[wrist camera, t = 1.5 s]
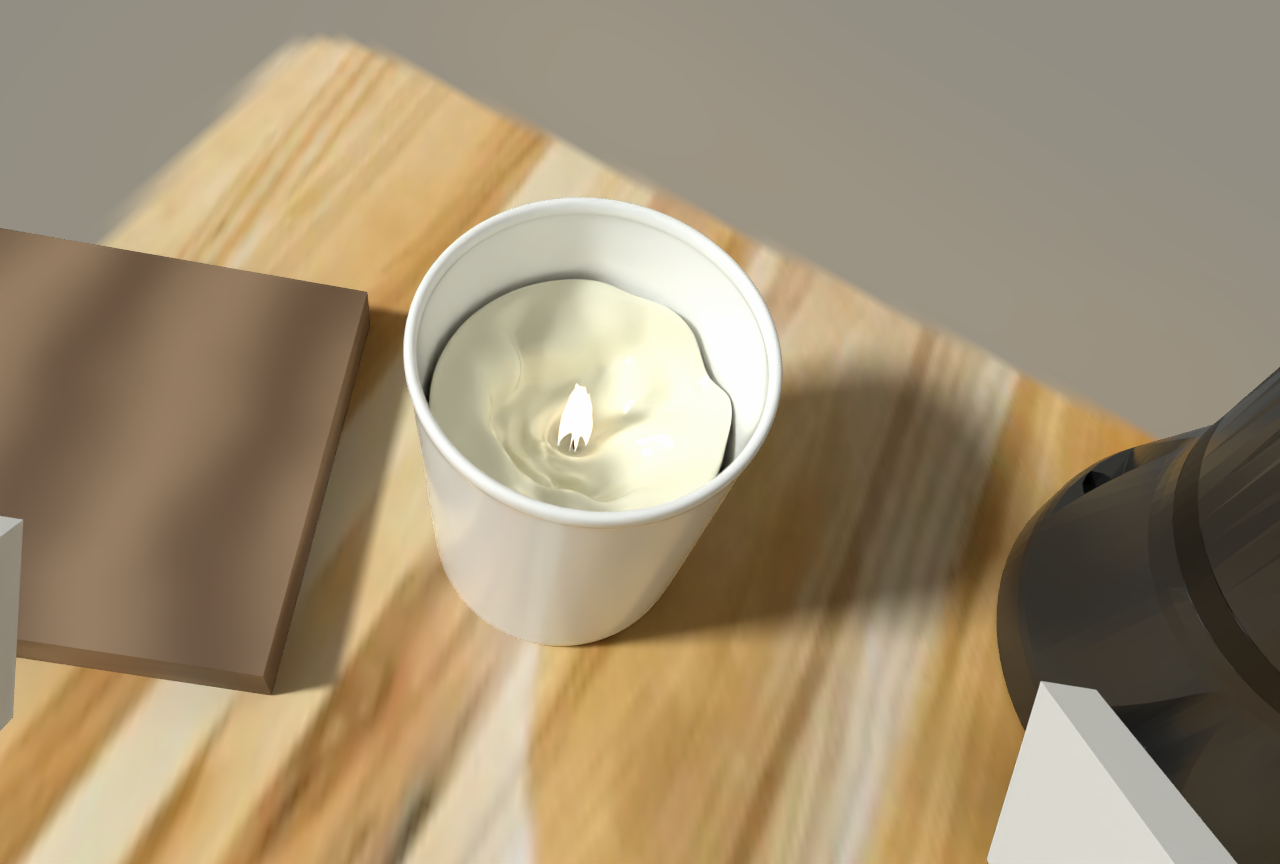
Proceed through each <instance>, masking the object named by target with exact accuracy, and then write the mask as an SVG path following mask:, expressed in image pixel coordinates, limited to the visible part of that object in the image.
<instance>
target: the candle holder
mask: <svg viewBox="0 0 1280 864" xmlns="http://www.w3.org/2000/svg"><path fill="white" fill-rule="evenodd" d="M403 360H404V371H405V377H406V382H407V387H408V391H409V394H410V398H411V401H412V404H413V407H414V414H415V420H416V426H417V432H418V439H419V445H420V451H421V457H422V464H423V470H424V476H425V482H426V489H427V495H428V501H429V507H430V513H431V519H432V525H433V530H434V536H435V541H436V545H437V550H438V553H439V557H440V560H441V563H442V566H443V568H444V571H445V573H446V575H447V577H448V579H449V581H450V583H451V585H452V586H453V588H454V590H455V591H456V593H457V594H458V595H459V597H460V598H461V599H462V600H463V602H464V603H465V604H466V605H467V606H468V607H469V608H470V609H471V610H472V611H473V612H474V613H475V614H476V615H477V616H479V617H480V618H481V619H482V620H484V621H485V622H486V623H488V624H489V625H491V626H492V627H494V628H496V629H498V630H499V631H501V632H503V633H505V634H508V635H510V636H512V637H515V638H518V639H520V640H524V641H527V642H531V643H536V644H542V645H550V646H572V645H581V644H586V643H591V642H595V641H598V640H601V639H604V638H607V637H610V636H612V635H614V634H616V633H618V632H620V631H622V630H624V629H625V628H627V627H629V626H630V625H632V624H633V623H635V622H636V621H637V620H639V619H640V618H641V617H642V616H643V615H644V614H646V613H647V612H648V611H649V610H650V609H651V608H652V607H653V606H654V604H655V603H656V602H657V601H658V600H659V598H660V597H661V596H662V595H663V593H664V592H665V591H666V589H667V588H668V586H669V585H670V583H671V582H672V580H673V579H674V577H675V576H676V574H677V573H678V571H679V570H680V568H681V567H682V565H683V564H684V562H685V560H686V559H687V557H688V556H689V554H690V553H691V551H692V550H693V548H694V546H695V545H696V543H697V542H698V540H699V539H700V537H701V535H702V534H703V532H704V531H705V529H706V527H707V526H708V524H709V523H710V521H711V520H712V518H713V516H714V515H715V513H716V512H717V510H718V509H719V507H720V505H721V504H722V502H723V501H724V499H725V498H726V496H727V494H728V493H729V491H730V490H731V488H732V487H733V485H734V483H735V482H736V480H737V479H738V477H739V475H740V474H741V473H742V472H743V471H744V469H745V468H746V467H747V466H748V465H749V464H750V462H751V461H752V460H753V458H754V457H755V456H756V454H757V453H758V451H759V450H760V448H761V446H762V445H763V443H764V441H765V439H766V437H767V436H768V433H769V431H770V429H771V427H772V424H773V422H774V419H775V416H776V413H777V409H778V405H779V401H780V396H781V389H782V355H781V348H780V343H779V338H778V334H777V331H776V328H775V325H774V322H773V319H772V317H771V314H770V312H769V310H768V307H767V305H766V303H765V301H764V300H763V298H762V296H761V294H760V293H759V291H758V289H757V288H756V286H755V285H754V283H753V282H752V281H751V279H750V278H749V277H748V275H747V274H746V273H745V272H744V270H743V269H742V268H741V267H740V266H739V265H738V264H737V263H736V262H735V261H734V259H733V258H731V257H730V256H729V255H728V254H727V253H726V252H725V251H724V250H723V249H722V248H720V247H719V246H718V245H717V244H716V243H714V242H713V241H712V240H710V239H709V238H708V237H706V236H705V235H703V234H702V233H700V232H699V231H697V230H695V229H694V228H692V227H690V226H689V225H687V224H685V223H683V222H681V221H679V220H677V219H675V218H673V217H671V216H668V215H666V214H663V213H661V212H658V211H656V210H653V209H650V208H647V207H643V206H640V205H636V204H632V203H628V202H623V201H618V200H611V199H603V198H589V197H572V198H558V199H550V200H543V201H538V202H533V203H529V204H525V205H522V206H518V207H515V208H512V209H510V210H507V211H504V212H502V213H499V214H497V215H495V216H493V217H491V218H489V219H487V220H485V221H483V222H481V223H480V224H478V225H476V226H475V227H473V228H472V229H470V230H469V231H467V232H466V233H464V234H463V235H462V236H461V237H459V238H458V239H457V240H456V241H455V242H453V243H452V244H451V245H450V246H449V247H448V248H447V249H446V250H445V251H444V252H443V253H442V254H441V255H440V256H439V257H438V259H437V260H436V261H435V262H434V264H433V265H432V266H431V268H430V269H429V270H428V272H427V273H426V275H425V277H424V278H423V280H422V282H421V283H420V285H419V287H418V289H417V291H416V294H415V296H414V298H413V301H412V304H411V306H410V310H409V313H408V317H407V321H406V326H405V333H404V343H403Z"/></svg>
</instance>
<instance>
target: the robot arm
mask: <svg viewBox="0 0 1280 864" xmlns="http://www.w3.org/2000/svg"><path fill="white" fill-rule="evenodd" d="M22 533H23V520H22V519H16V518H10V517H4V516H0V731H1V729H2V728H3V727H4V726H5V725H6V724H7V723H8V722H9V721H10V720H11V719H12V718H13V705H14V686H15V667H16V648H17V629H18V610H19V590H20V571H21V552H22ZM997 639H998V648H999V655H1000V661H1001V665H1002V670H1003V675H1004V678H1005V682H1006V685H1007V688H1008V692H1009V694H1010V697H1011V700H1012V703H1013V705H1014V708H1015V710H1016V713H1017V715H1018V717H1019V719H1020V722H1021V724H1022V726H1023V728H1024V730H1025V735H1024V738H1023V741H1022V745H1021V748H1020V751H1019V755H1018V758H1017V761H1016V764H1015V768H1014V771H1013V774H1012V778H1011V781H1010V784H1009V788H1008V791H1007V794H1006V797H1005V801H1004V804H1003V807H1002V811H1001V814H1000V817H999V821H998V824H997V827H996V830H995V834H994V837H993V840H992V844H991V847H990V850H989V854H988V857H987V861H988V863H989V864H1280V367H1279V368H1278V369H1277V370H1276V371H1275V372H1274V373H1272V374H1271V375H1270V376H1269V377H1268V378H1267V379H1266V380H1264V381H1263V382H1262V383H1261V384H1260V385H1259V386H1258V387H1256V388H1255V389H1254V390H1253V391H1252V392H1251V393H1250V394H1249V395H1248V396H1246V397H1245V398H1244V399H1242V400H1241V401H1240V402H1239V403H1238V404H1237V405H1236V406H1235V407H1233V408H1232V409H1231V410H1230V411H1229V412H1228V413H1227V414H1226V415H1225V416H1223V417H1222V418H1221V419H1220V420H1218V421H1217V422H1216V423H1215V424H1213V425H1211V426H1207V427H1203V428H1200V429H1196V430H1193V431H1190V432H1186V433H1182V434H1179V435H1175V436H1172V437H1168V438H1165V439H1161V440H1158V441H1154V442H1151V443H1147V444H1144V445H1140V446H1137V447H1134V448H1130V449H1127V450H1124V451H1121V452H1118V453H1116V454H1113V455H1111V456H1109V457H1106V458H1104V459H1102V460H1100V461H1099V462H1097V463H1095V464H1093V465H1091V466H1090V467H1088V468H1086V469H1085V470H1083V471H1082V472H1080V473H1079V474H1077V475H1076V476H1075V477H1074V478H1072V479H1071V480H1070V481H1069V482H1067V483H1066V484H1065V485H1064V486H1063V487H1062V488H1061V489H1060V490H1059V491H1058V492H1057V493H1056V494H1055V495H1054V496H1053V497H1052V498H1051V499H1050V500H1049V501H1048V502H1047V503H1046V504H1044V505H1043V506H1042V507H1041V508H1040V509H1039V510H1038V511H1037V512H1036V513H1035V515H1034V516H1033V517H1032V518H1031V519H1030V520H1029V522H1028V523H1027V524H1026V526H1025V527H1024V529H1023V530H1022V531H1021V533H1020V535H1019V536H1018V538H1017V540H1016V542H1015V543H1014V545H1013V548H1012V550H1011V552H1010V554H1009V556H1008V559H1007V562H1006V565H1005V568H1004V571H1003V575H1002V579H1001V583H1000V589H999V595H998V604H997Z"/></svg>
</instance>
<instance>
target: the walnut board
mask: <svg viewBox="0 0 1280 864" xmlns="http://www.w3.org/2000/svg"><path fill="white" fill-rule="evenodd" d="M369 325H370V317H369V306H368V295H367V292H364V291H359V290H353V289H347V288H341V287H336V286H330V285H324V284H318V283H313V282H307V281H301V280H295V279H290V278H284V277H278V276H272V275H267V274H261V273H255V272H249V271H244V270H238V269H232V268H227V267H221V266H215V265H209V264H204V263H198V262H192V261H186V260H181V259H175V258H169V257H163V256H158V255H152V254H146V253H140V252H135V251H129V250H123V249H117V248H112V247H106V246H100V245H94V244H89V243H83V242H77V241H71V240H66V239H60V238H54V237H48V236H43V235H37V234H31V233H25V232H19V231H14V230H8V229H3V228H0V516H4V517H10V518H16V519H22V520H23V533H22V552H21V571H20V590H19V610H18V629H17V648H16V657H19V658H26V659H33V660H39V661H46V662H53V663H59V664H66V665H73V666H79V667H86V668H93V669H99V670H106V671H113V672H119V673H126V674H133V675H139V676H146V677H153V678H159V679H166V680H173V681H179V682H186V683H193V684H199V685H206V686H213V687H219V688H226V689H232V690H239V691H246V692H252V693H259V694H266V695H271V694H272V690H273V686H274V683H275V679H276V675H277V671H278V668H279V664H280V660H281V656H282V653H283V649H284V645H285V641H286V638H287V634H288V630H289V626H290V623H291V619H292V615H293V611H294V607H295V604H296V600H297V596H298V592H299V589H300V585H301V581H302V577H303V574H304V570H305V566H306V562H307V559H308V555H309V551H310V547H311V544H312V540H313V536H314V532H315V529H316V525H317V521H318V517H319V513H320V510H321V506H322V502H323V498H324V495H325V491H326V487H327V483H328V480H329V476H330V472H331V468H332V465H333V461H334V457H335V453H336V450H337V446H338V442H339V438H340V434H341V431H342V427H343V423H344V419H345V416H346V412H347V408H348V404H349V401H350V397H351V393H352V389H353V386H354V382H355V378H356V374H357V371H358V367H359V363H360V359H361V356H362V352H363V348H364V344H365V340H366V337H367V333H368V329H369Z"/></svg>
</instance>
